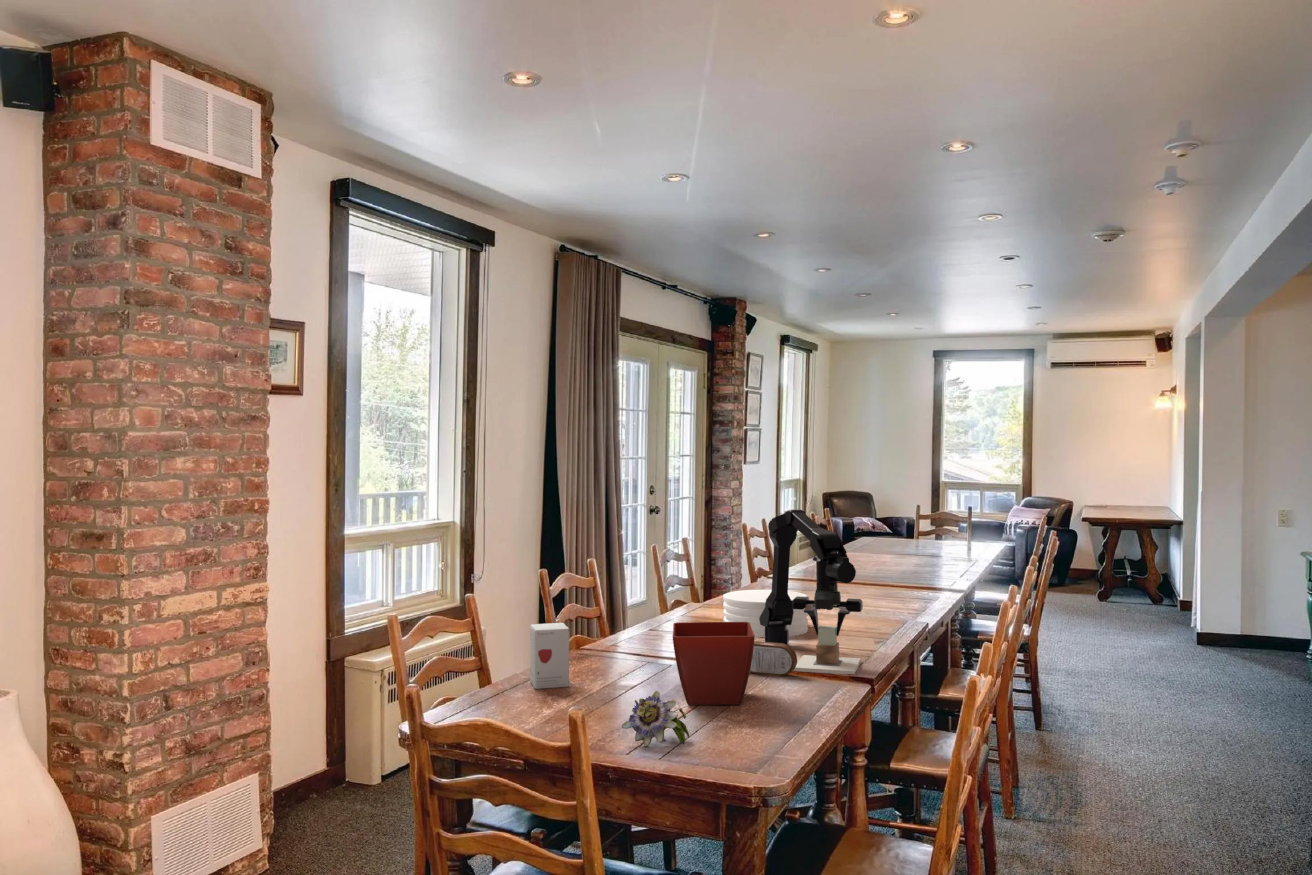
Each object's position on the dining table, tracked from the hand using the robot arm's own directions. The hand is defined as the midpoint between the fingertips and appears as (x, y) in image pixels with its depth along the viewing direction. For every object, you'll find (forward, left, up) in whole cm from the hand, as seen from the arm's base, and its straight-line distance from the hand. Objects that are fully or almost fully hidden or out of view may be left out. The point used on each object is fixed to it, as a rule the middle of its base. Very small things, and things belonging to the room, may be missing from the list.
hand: (827, 635), depth 255 cm
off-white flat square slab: (0, 0, -8) cm, 8 cm away
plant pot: (-22, -41, -9) cm, 47 cm away
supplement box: (-66, -39, -9) cm, 77 cm away
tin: (-14, -13, -9) cm, 21 cm away
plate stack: (-27, +49, -9) cm, 57 cm away
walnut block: (0, 0, -7) cm, 7 cm away
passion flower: (-25, -76, -9) cm, 81 cm away
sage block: (0, 0, -2) cm, 2 cm away
